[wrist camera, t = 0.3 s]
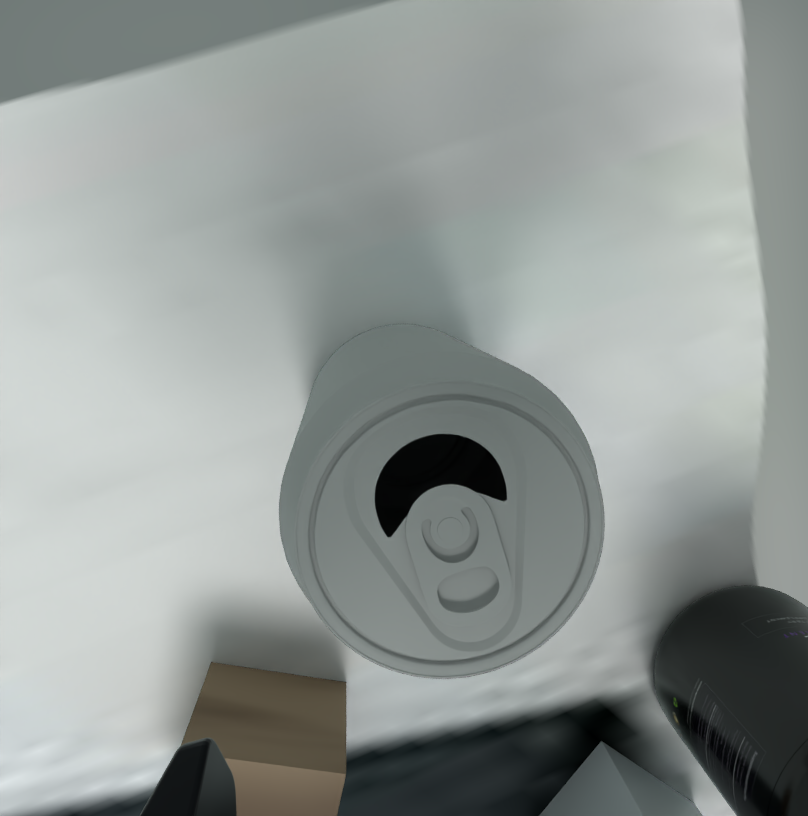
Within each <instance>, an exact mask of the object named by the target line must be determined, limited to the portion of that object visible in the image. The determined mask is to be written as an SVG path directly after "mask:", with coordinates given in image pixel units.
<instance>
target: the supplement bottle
mask: <svg viewBox="0 0 808 816" xmlns="http://www.w3.org/2000/svg"><path fill="white" fill-rule="evenodd" d="M654 682H655V689H656V694H657V697H658V700H659V703H660V706H661V708H662V710H663V712H664V713H665V715H666V717H667V719H668V720H669V722H670V723H671V725H672V726H673V728H674V729H675V730H676V732H677V734H678V735H679V736H680V738H681V739H682V741H683V742H684V743H685V745H686V746H687V747H688V749H689V750H690V752H691V753H692V754H693V756H694V757H695V759H696V760H697V761H698V763H699V764H700V765H701V767H702V768H703V770H704V771H705V772H706V774H707V775H708V777H709V778H710V779H711V781H712V782H713V783H714V785H715V786H716V788H717V789H718V790H719V792H720V793H721V795H722V796H723V797H724V799H725V800H726V801H727V803H728V804H729V806H730V807H731V808H732V810H733V811H734V813H735V814H736V815H737V816H808V607H806V606H805V605H803V604H802V603H800V602H799V601H797V600H795V599H794V598H792V597H790V596H789V595H787V594H784V593H782V592H780V591H776V590H774V589H770V588H765V587H760V586H735V587H729V588H725V589H721V590H718V591H715V592H712V593H710V594H708V595H706V596H703V597H702V598H700V599H698V600H697V601H695V602H694V603H692V604H691V605H689V606H688V607H687V608H686V609H685V610H684V611H682V612H681V613H680V615H679V616H678V617H677V618H676V619H675V620H674V621H673V622H672V624H671V625H670V627H669V628H668V630H667V631H666V633H665V635H664V637H663V639H662V641H661V643H660V646H659V649H658V652H657V656H656V660H655V668H654Z"/></svg>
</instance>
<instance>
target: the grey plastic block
mask: <svg viewBox="0 0 808 816" xmlns="http://www.w3.org/2000/svg"><path fill="white" fill-rule="evenodd" d="M539 816H702V814H701V813H700V811H699V810H698V808H697V807H696V805H695V804H694V803H693V802H692V801H690V800H689V799H687V798H686V797H684V796H683V795H681V794H680V793H678V792H677V791H675V790H674V789H672V788H671V787H669V786H668V785H667V784H665V783H664V782H662V781H661V780H659V779H658V778H656V777H655V776H653V775H652V774H650V773H649V772H647V771H646V770H644V769H643V768H641V767H640V766H638V765H637V764H635V763H634V762H632V761H631V760H629V759H628V758H626V757H625V756H623V755H622V754H620V753H619V752H617V751H616V750H614V749H613V748H611V747H610V746H608V745H607V744H605V743H604V742H602V741H601V742H600V743H599V744H598V746H597V747H596V748H595V749H594V750H593V752H592V753H591V754H590V755H589V756H588V758H587V759H586V760H585V761H584V762H583V764H582V765H581V766H580V767H579V768H578V770H577V771H576V772H575V773H574V774H573V776H572V777H571V778H570V779H569V780H568V782H567V783H566V784H565V785H564V786H563V788H562V789H561V790H560V791H559V792H558V794H557V795H556V796H555V797H554V798H553V800H552V801H551V802H550V803H549V805H548V806H547V807H546V808H545V809H544V811H543V812H542V813H541V814H540V815H539Z"/></svg>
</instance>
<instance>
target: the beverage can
mask: <svg viewBox="0 0 808 816" xmlns="http://www.w3.org/2000/svg"><path fill="white" fill-rule="evenodd" d="M279 521H280V534H281V539H282V544H283V548H284V551H285V555H286V559H287V562H288V564H289V567H290V569H291V571H292V573H293V575H294V577H295V579H296V581H297V583H298V585H299V587H300V588H301V590H302V591H303V593H304V594H305V596H306V597H307V599H308V600H309V601H310V603H311V604H312V606H313V607H314V609H315V610H316V612H317V614H318V615H319V617H320V618H321V619H322V621H323V622H324V623H325V624H326V626H327V627H328V628H329V629H330V630H331V631H332V632H333V633H334V635H335V636H336V637H337V638H339V639H340V640H341V641H342V642H343V643H344V644H345V645H347V646H348V647H349V648H351V649H352V650H353V651H355V652H356V653H358V654H359V655H361V656H362V657H364V658H366V659H367V660H369V661H371V662H373V663H375V664H377V665H379V666H382V667H384V668H387V669H389V670H392V671H396V672H399V673H402V674H407V675H411V676H416V677H424V678H435V679H451V678H463V677H470V676H475V675H479V674H484V673H488V672H491V671H494V670H497V669H500V668H502V667H505V666H507V665H509V664H512V663H514V662H516V661H518V660H520V659H522V658H523V657H525V656H527V655H528V654H530V653H532V652H533V651H535V650H536V649H538V648H539V647H541V646H542V645H543V644H544V643H545V642H547V641H548V640H549V639H550V638H551V637H552V636H554V635H555V634H556V633H557V632H558V631H559V630H560V629H561V628H562V627H563V626H564V624H565V623H566V622H567V621H568V620H569V619H570V617H571V616H572V615H573V614H574V612H575V611H576V610H577V608H578V607H579V605H580V604H581V602H582V600H583V599H584V597H585V595H586V593H587V591H588V590H589V588H590V585H591V583H592V581H593V579H594V576H595V573H596V570H597V567H598V565H599V561H600V557H601V553H602V547H603V540H604V527H605V524H604V507H603V499H602V493H601V489H600V485H599V481H598V475H597V470H596V465H595V461H594V458H593V455H592V452H591V449H590V446H589V444H588V441H587V439H586V437H585V435H584V433H583V432H582V430H581V428H580V426H579V424H578V423H577V421H576V420H575V418H574V416H573V415H572V414H571V412H570V411H569V410H568V409H567V407H566V406H565V405H564V404H563V403H562V402H561V400H560V399H559V398H558V397H557V396H556V395H555V394H554V393H553V392H552V391H550V390H549V389H548V388H547V387H546V386H544V385H543V384H542V383H541V382H539V381H538V380H537V379H535V378H534V377H532V376H531V375H529V374H527V373H525V372H524V371H522V370H520V369H518V368H516V367H514V366H512V365H510V364H508V363H506V362H504V361H502V360H500V359H498V358H496V357H493V356H491V355H489V354H487V353H485V352H483V351H481V350H479V349H477V348H474V347H472V346H470V345H468V344H466V343H464V342H462V341H460V340H458V339H455V338H453V337H451V336H449V335H447V334H445V333H443V332H441V331H438V330H435V329H432V328H427V327H423V326H419V325H414V324H392V325H386V326H381V327H377V328H374V329H371V330H368V331H366V332H364V333H361V334H359V335H357V336H355V337H354V338H352V339H351V340H349V341H348V342H346V343H345V344H343V345H342V346H341V347H340V348H339V349H338V350H337V351H336V352H335V353H334V354H333V355H332V356H331V357H330V358H329V359H328V361H327V362H326V363H325V365H324V366H323V367H322V369H321V371H320V373H319V374H318V376H317V378H316V380H315V383H314V385H313V388H312V391H311V394H310V397H309V400H308V403H307V406H306V409H305V412H304V415H303V418H302V421H301V424H300V427H299V430H298V433H297V436H296V439H295V442H294V445H293V448H292V451H291V453H290V456H289V459H288V462H287V465H286V469H285V472H284V476H283V480H282V485H281V492H280V501H279Z"/></svg>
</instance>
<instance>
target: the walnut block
mask: <svg viewBox="0 0 808 816" xmlns="http://www.w3.org/2000/svg"><path fill="white" fill-rule="evenodd" d="M203 738H212V739H213V740H214V741H215V742H216V744H217V745H218V747H219V749H220V751H221V753H222V755H223V757H224V759H225V760H226V762H227V764H228V766H229V768H230V770H231V772H232V774H233V778H234V782H235V790H236V812H237V816H337V813H338V808H339V804H340V799H341V795H342V790H343V786H344V781H345V776H346V682H341V681H334V680H328V679H321V678H314V677H307V676H301V675H294V674H287V673H280V672H274V671H267V670H260V669H253V668H247V667H240V666H233V665H226V664H220V663H213V662H211V664H210V667H209V670H208V673H207V675H206V678H205V681H204V684H203V686H202V689H201V692H200V695H199V697H198V700H197V703H196V705H195V708H194V711H193V714H192V716H191V719H190V722H189V725H188V727H187V730H186V733H185V736H184V738H183V741H182V744H181V746H182V745H183V744H185V743H188V742H192V741H196V740H199V739H203Z"/></svg>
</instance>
